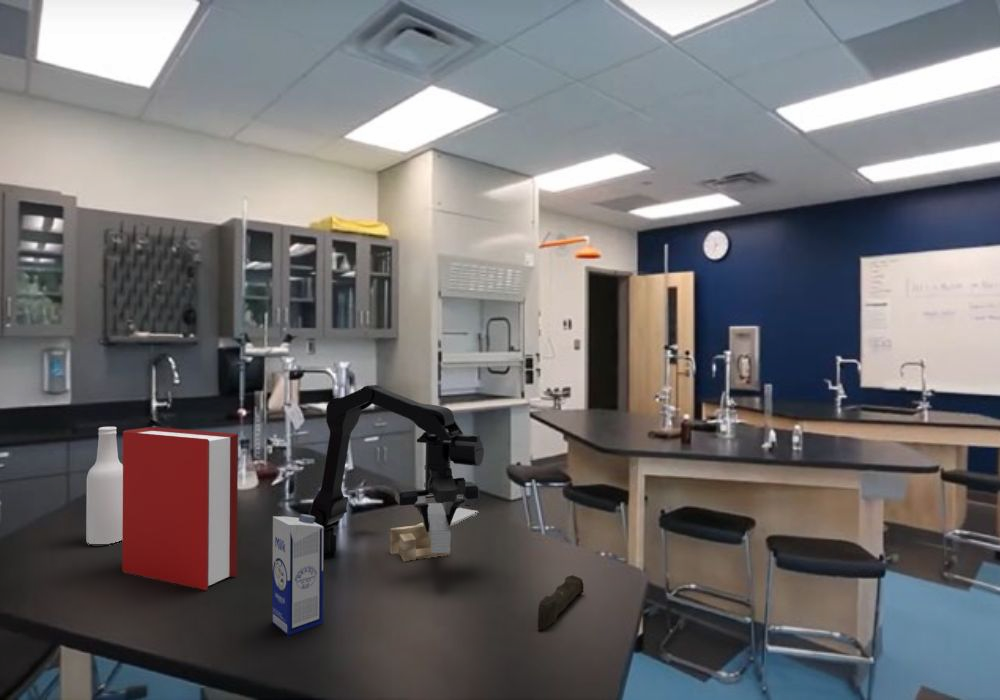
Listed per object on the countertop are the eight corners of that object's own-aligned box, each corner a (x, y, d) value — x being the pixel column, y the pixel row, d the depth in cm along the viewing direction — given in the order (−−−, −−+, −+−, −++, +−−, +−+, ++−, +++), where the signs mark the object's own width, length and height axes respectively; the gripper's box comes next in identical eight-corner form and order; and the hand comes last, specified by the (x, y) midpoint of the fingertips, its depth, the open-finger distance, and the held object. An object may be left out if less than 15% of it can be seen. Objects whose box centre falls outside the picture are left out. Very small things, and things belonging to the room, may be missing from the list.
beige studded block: (396, 562, 137) (396, 537, 137) (390, 552, 144) (390, 528, 144) (456, 554, 142) (456, 530, 142) (447, 544, 149) (447, 521, 149)
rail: (431, 553, 120) (431, 531, 120) (425, 521, 142) (425, 503, 142) (450, 552, 121) (450, 531, 121) (441, 521, 142) (442, 503, 142)
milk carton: (271, 622, 107) (272, 515, 107) (306, 610, 111) (306, 508, 111) (288, 636, 102) (289, 523, 101) (323, 623, 106) (324, 516, 106)
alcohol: (134, 536, 154) (135, 425, 154) (109, 548, 145) (110, 430, 145) (104, 535, 155) (105, 424, 155) (77, 546, 146) (78, 429, 146)
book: (236, 577, 127) (237, 433, 127) (206, 591, 120) (207, 439, 120) (150, 559, 138) (151, 426, 137) (118, 571, 130) (118, 431, 130)
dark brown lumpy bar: (566, 591, 122) (566, 569, 122) (584, 595, 120) (584, 573, 120) (525, 629, 105) (525, 604, 105) (544, 635, 103) (544, 609, 103)
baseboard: (387, 537, 157) (415, 544, 152) (387, 526, 157) (415, 533, 152) (453, 510, 183) (479, 516, 177) (453, 502, 183) (479, 506, 177)
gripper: (405, 472, 120) (405, 546, 120) (488, 466, 127) (487, 536, 127) (394, 462, 130) (393, 530, 130) (471, 457, 138) (471, 522, 138)
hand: (437, 530), depth 131 cm, fingers closed on rail, 4 cm apart
